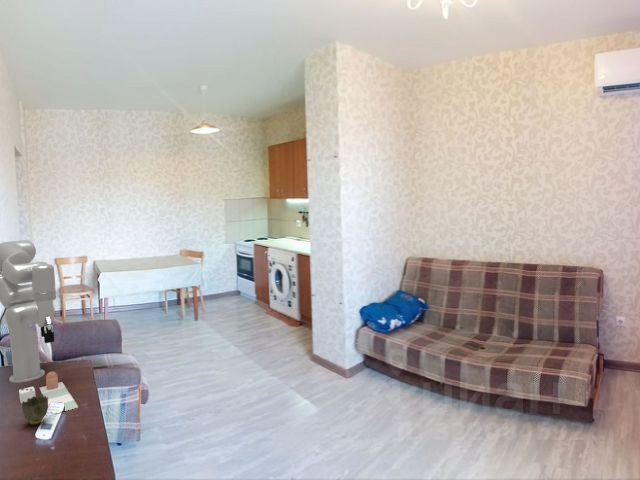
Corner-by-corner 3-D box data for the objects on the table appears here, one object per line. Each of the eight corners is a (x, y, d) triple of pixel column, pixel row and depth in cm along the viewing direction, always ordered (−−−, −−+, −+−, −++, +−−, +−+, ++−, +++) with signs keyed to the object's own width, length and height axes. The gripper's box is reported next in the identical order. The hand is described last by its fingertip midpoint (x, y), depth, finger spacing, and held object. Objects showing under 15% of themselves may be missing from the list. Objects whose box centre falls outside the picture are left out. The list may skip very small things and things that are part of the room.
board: (39, 388, 174) (39, 387, 174) (62, 382, 179) (62, 382, 179) (52, 415, 151) (52, 414, 151) (78, 407, 156) (78, 407, 156)
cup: (37, 429, 142) (34, 406, 141) (17, 428, 143) (15, 404, 142) (55, 418, 149) (53, 395, 148) (36, 417, 150) (34, 394, 150)
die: (20, 401, 163) (18, 388, 163) (34, 397, 166) (33, 385, 166) (21, 405, 160) (20, 392, 159) (36, 401, 163) (34, 389, 162)
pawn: (45, 387, 174) (44, 371, 174) (57, 384, 177) (56, 369, 176) (47, 390, 171) (46, 374, 171) (59, 387, 174) (57, 371, 173)
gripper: (30, 293, 174) (33, 335, 176) (35, 301, 161) (39, 347, 162) (52, 291, 179) (55, 332, 181) (59, 298, 165) (62, 342, 167)
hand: (47, 339), depth 172 cm, fingers open, 9 cm apart
